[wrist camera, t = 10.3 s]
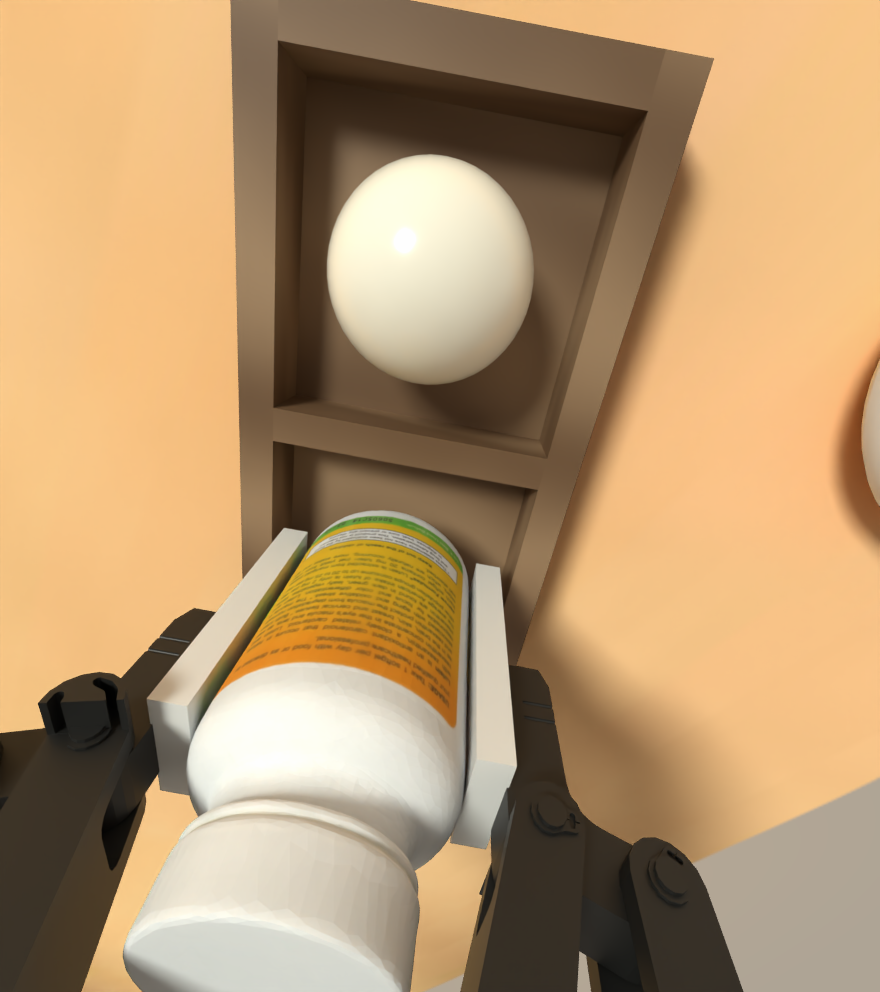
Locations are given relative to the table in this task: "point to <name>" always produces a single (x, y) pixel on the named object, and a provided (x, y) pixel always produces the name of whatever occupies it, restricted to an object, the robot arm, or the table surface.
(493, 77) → the tray
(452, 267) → the egg
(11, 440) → the table surface
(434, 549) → the supplement bottle
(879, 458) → the flower in vase
